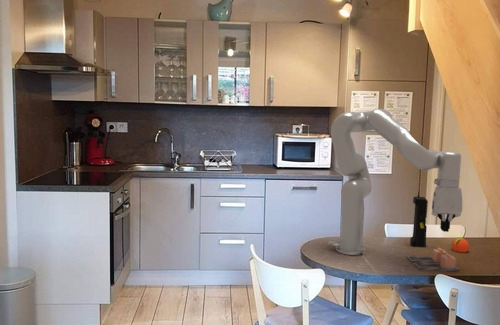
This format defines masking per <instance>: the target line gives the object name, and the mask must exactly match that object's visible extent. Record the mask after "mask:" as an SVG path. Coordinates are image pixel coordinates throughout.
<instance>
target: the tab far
mask: <svg viewBox="0 0 500 325" xmlns="http://www.w3.org/2000/svg"><path fill="white" fill-rule="evenodd" d="M446 253H448V252H447V251H446V250H445V249H443V248H441V247H437V249H435V248H433V249H432V256H431V257H432V260H431V261H441V255H445V254H446Z"/></svg>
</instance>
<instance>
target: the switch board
mask: <svg viewBox="0 0 500 325" xmlns="http://www.w3.org/2000/svg"><path fill="white" fill-rule="evenodd" d="M432 257H433V256H412V255H411V256H410V255H408V256H406V259H407V260H408V262H410V263H411V264H412V265H413V266H414V267H415V268H416V269H417V270H419V271H439V272H441V271H443V272H447V273H458V272H459V271H460V268H459V267H457V266H456V265H455V268H442V267H440V262H441V261H433V260H432Z"/></svg>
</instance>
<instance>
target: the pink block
mask: <svg viewBox="0 0 500 325" xmlns="http://www.w3.org/2000/svg"><path fill="white" fill-rule="evenodd" d="M456 262H457V258H456V257H454V256H453V255H451V254H449V253H448V252H447V253H446V254H445V255H441V262H440V266H439V268H455V266H456Z"/></svg>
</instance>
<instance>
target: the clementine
mask: <svg viewBox="0 0 500 325" xmlns="http://www.w3.org/2000/svg"><path fill="white" fill-rule="evenodd" d="M451 248H452V250H453V251H455V252H458V253H461V254H462V253H463V254H464V253H467V252H468V251H469V248H470V244H469V241H468V240H466V239H465V238H463V237H457V238H455V239H453V241H452V242H451Z"/></svg>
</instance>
